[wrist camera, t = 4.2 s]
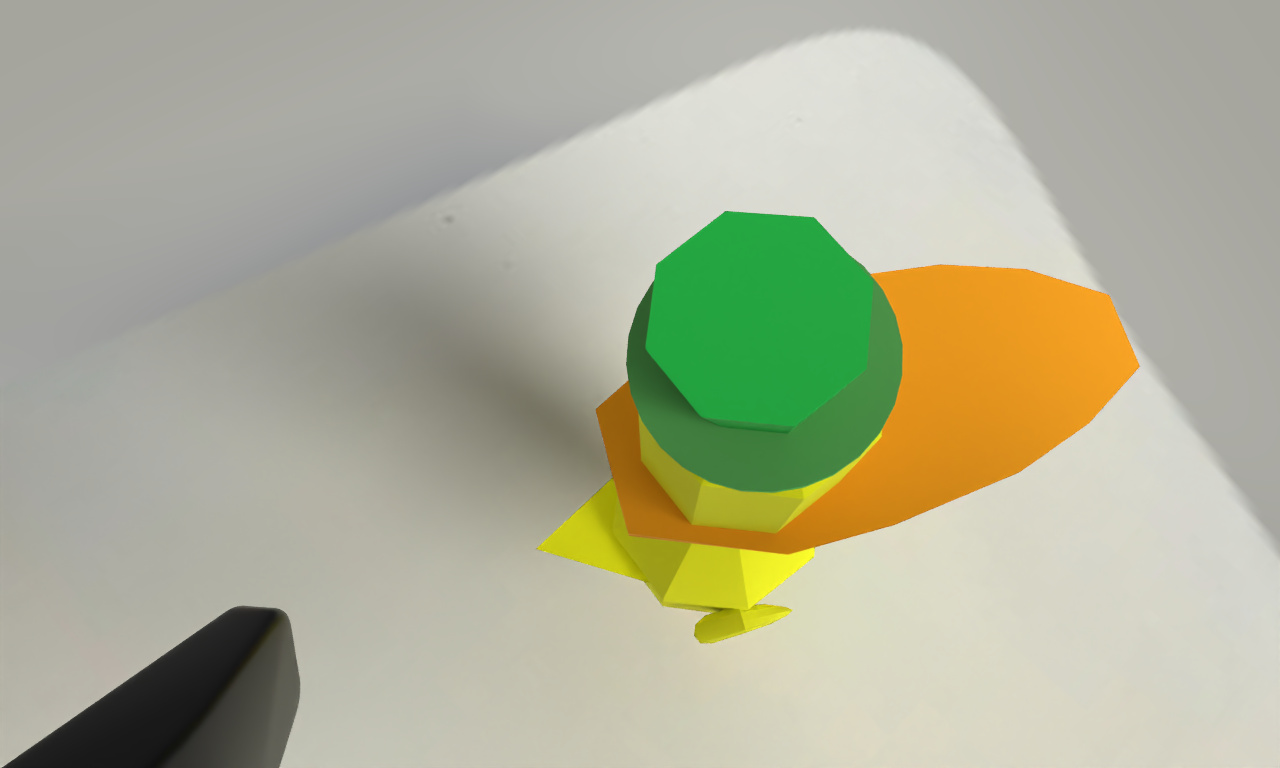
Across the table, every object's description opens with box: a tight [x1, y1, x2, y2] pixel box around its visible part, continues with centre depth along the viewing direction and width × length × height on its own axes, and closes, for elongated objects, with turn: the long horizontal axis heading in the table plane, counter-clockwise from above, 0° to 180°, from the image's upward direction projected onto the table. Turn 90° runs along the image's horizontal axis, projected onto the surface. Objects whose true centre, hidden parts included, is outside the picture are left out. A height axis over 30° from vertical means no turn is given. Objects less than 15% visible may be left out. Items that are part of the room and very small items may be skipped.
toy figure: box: [537, 211, 1140, 644], centre depth 13 cm, size 7×4×12 cm, turn 105°
